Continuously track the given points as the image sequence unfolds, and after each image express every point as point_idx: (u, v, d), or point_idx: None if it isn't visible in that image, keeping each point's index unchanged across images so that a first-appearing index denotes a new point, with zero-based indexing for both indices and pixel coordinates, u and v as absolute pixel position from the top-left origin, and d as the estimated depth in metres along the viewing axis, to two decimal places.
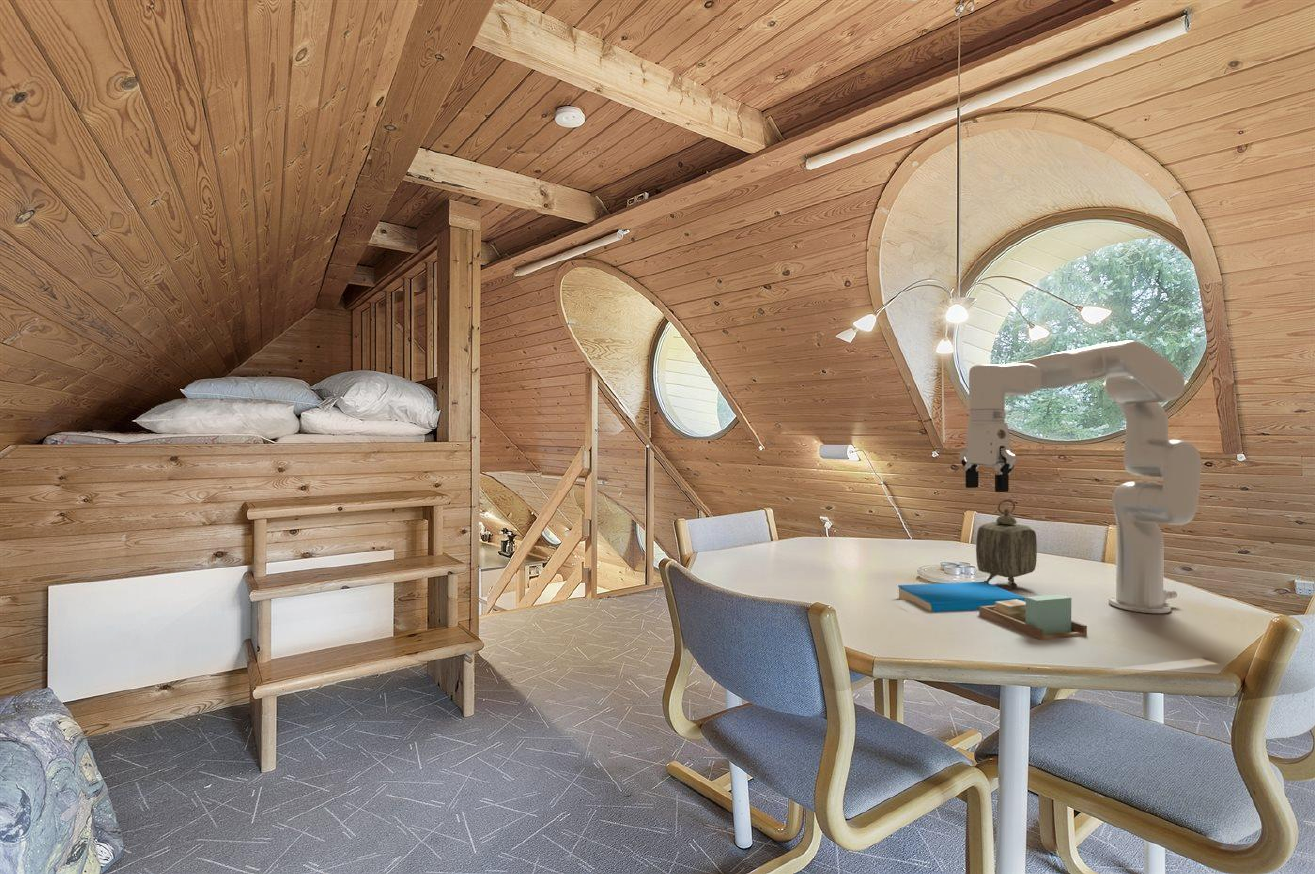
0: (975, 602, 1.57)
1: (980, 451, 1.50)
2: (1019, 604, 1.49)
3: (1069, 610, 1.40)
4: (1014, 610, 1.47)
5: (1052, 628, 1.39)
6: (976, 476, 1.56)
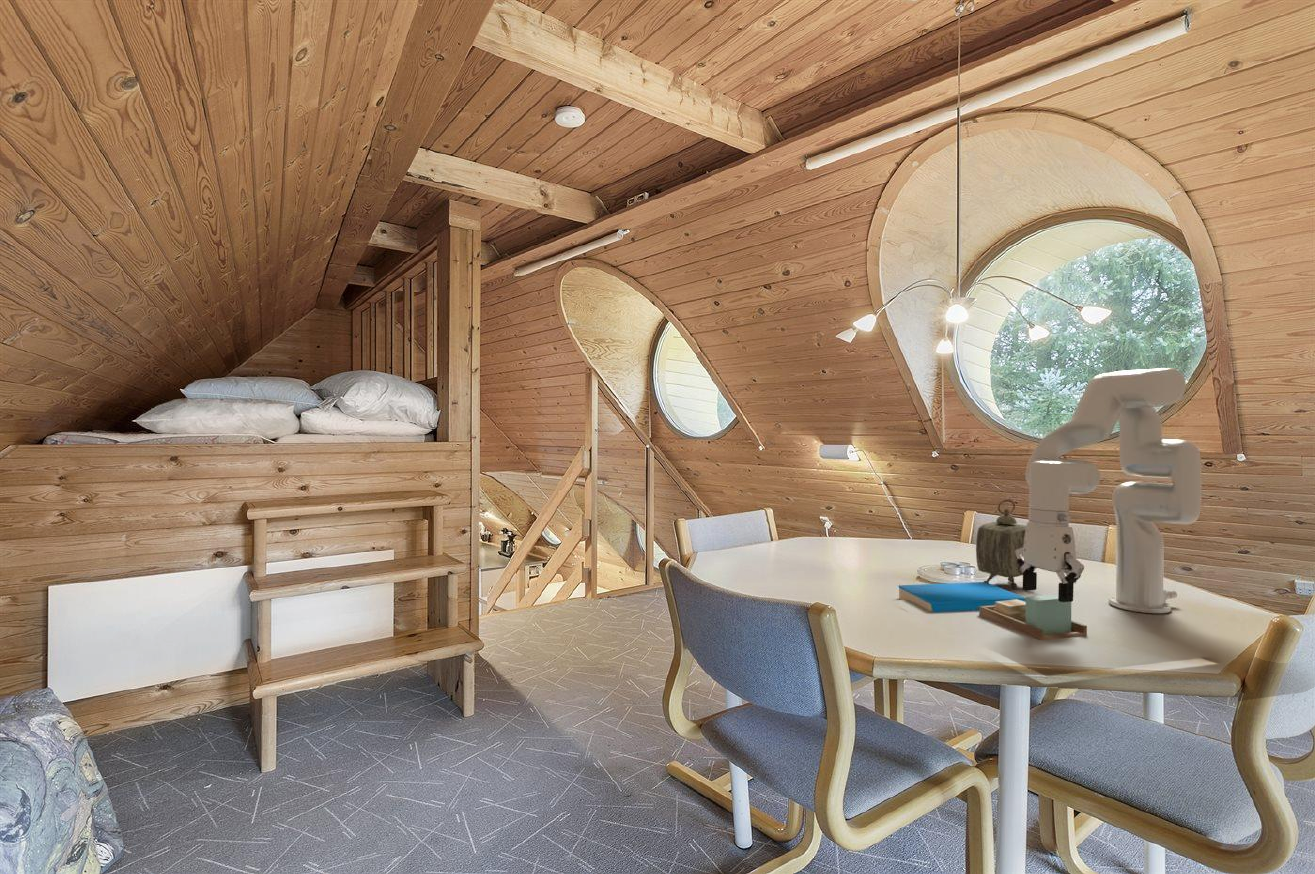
0: (976, 602, 1.57)
1: (1041, 555, 1.38)
2: (1019, 604, 1.49)
3: (1069, 610, 1.40)
4: (1014, 610, 1.47)
5: (1052, 628, 1.39)
6: (1034, 578, 1.44)
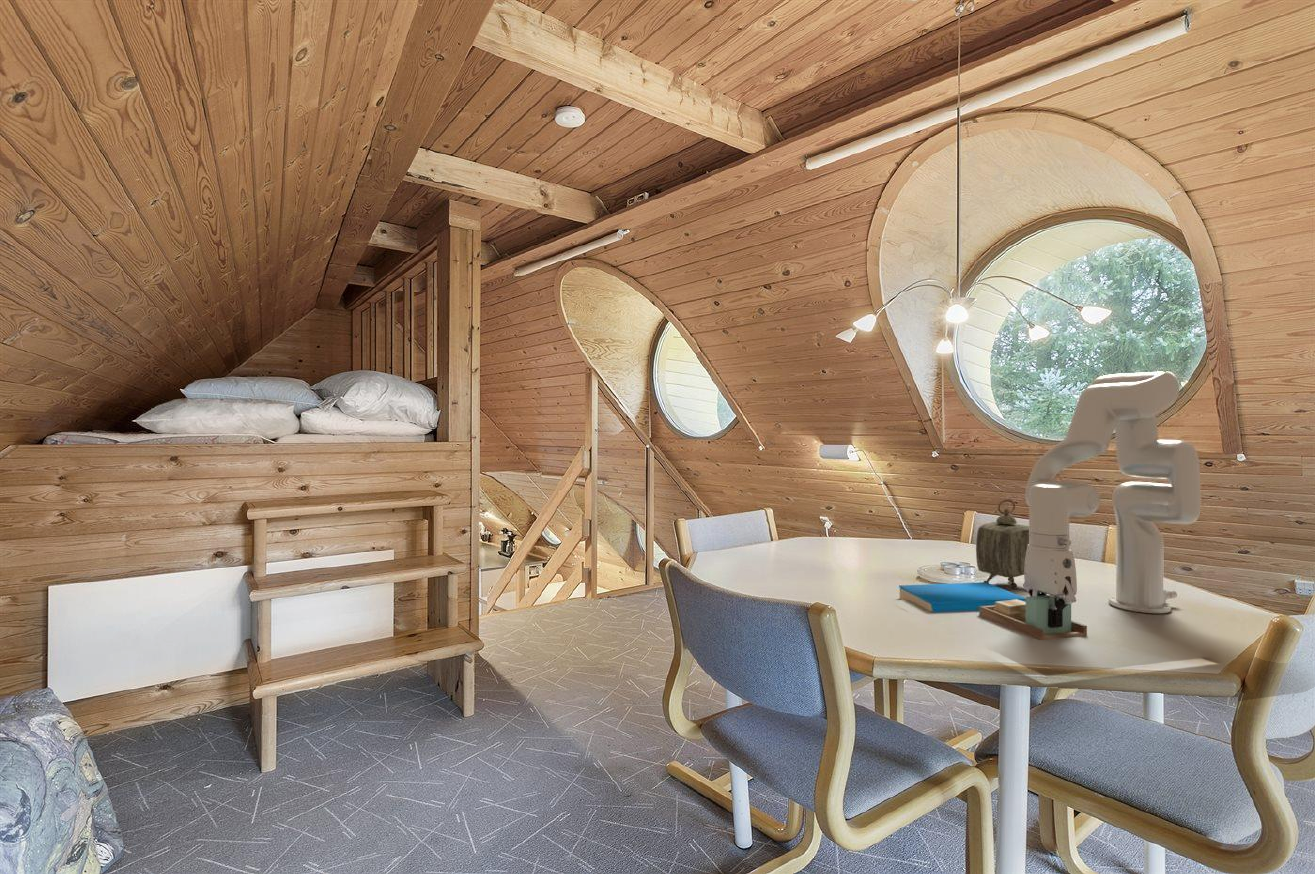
0: (976, 603, 1.57)
1: (1042, 578, 1.39)
2: (1019, 604, 1.49)
3: (1069, 610, 1.40)
4: (1014, 610, 1.47)
5: (1052, 628, 1.39)
6: None
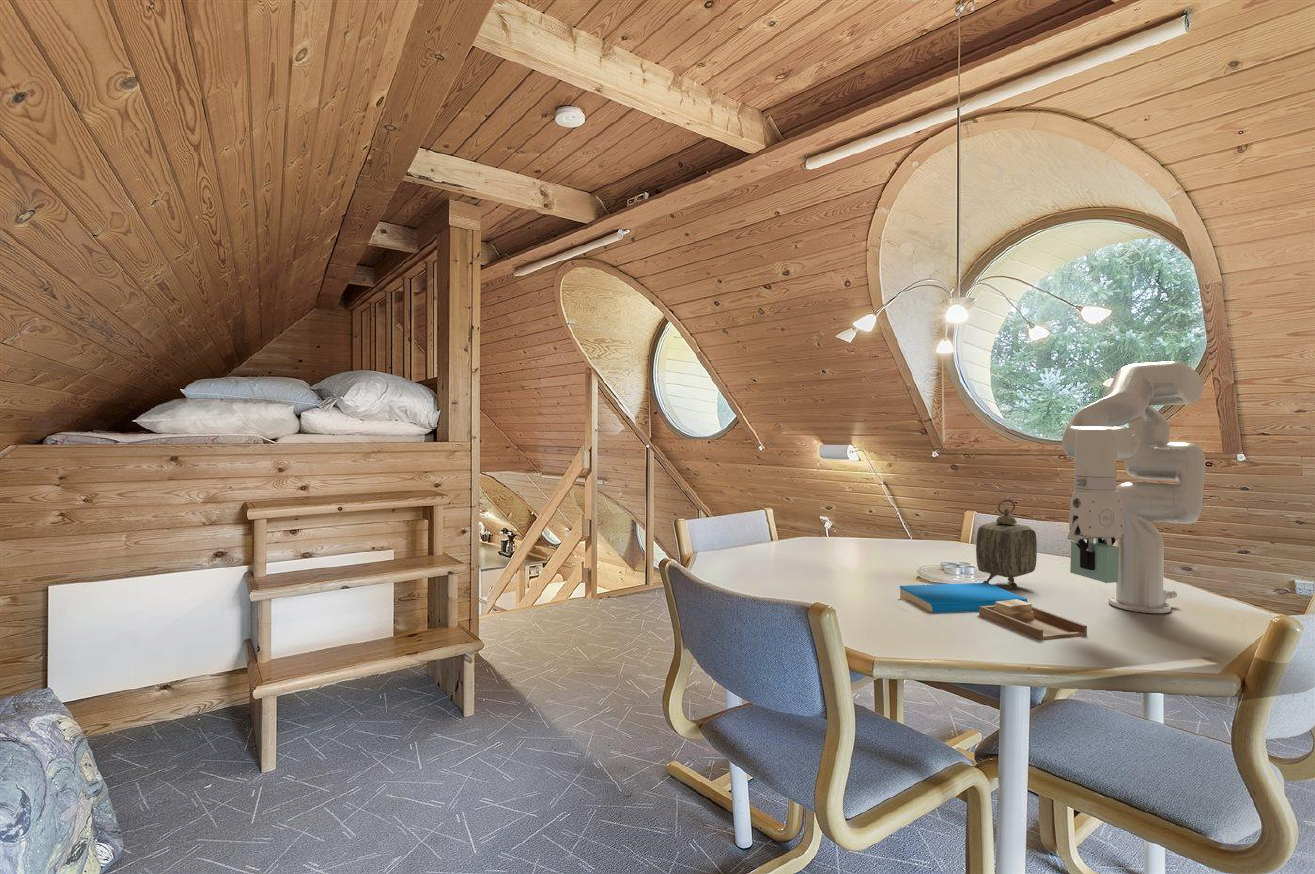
0: (977, 603, 1.56)
1: None
2: (1019, 604, 1.49)
3: (1105, 560, 1.35)
4: (1014, 610, 1.47)
5: (1086, 572, 1.40)
6: None
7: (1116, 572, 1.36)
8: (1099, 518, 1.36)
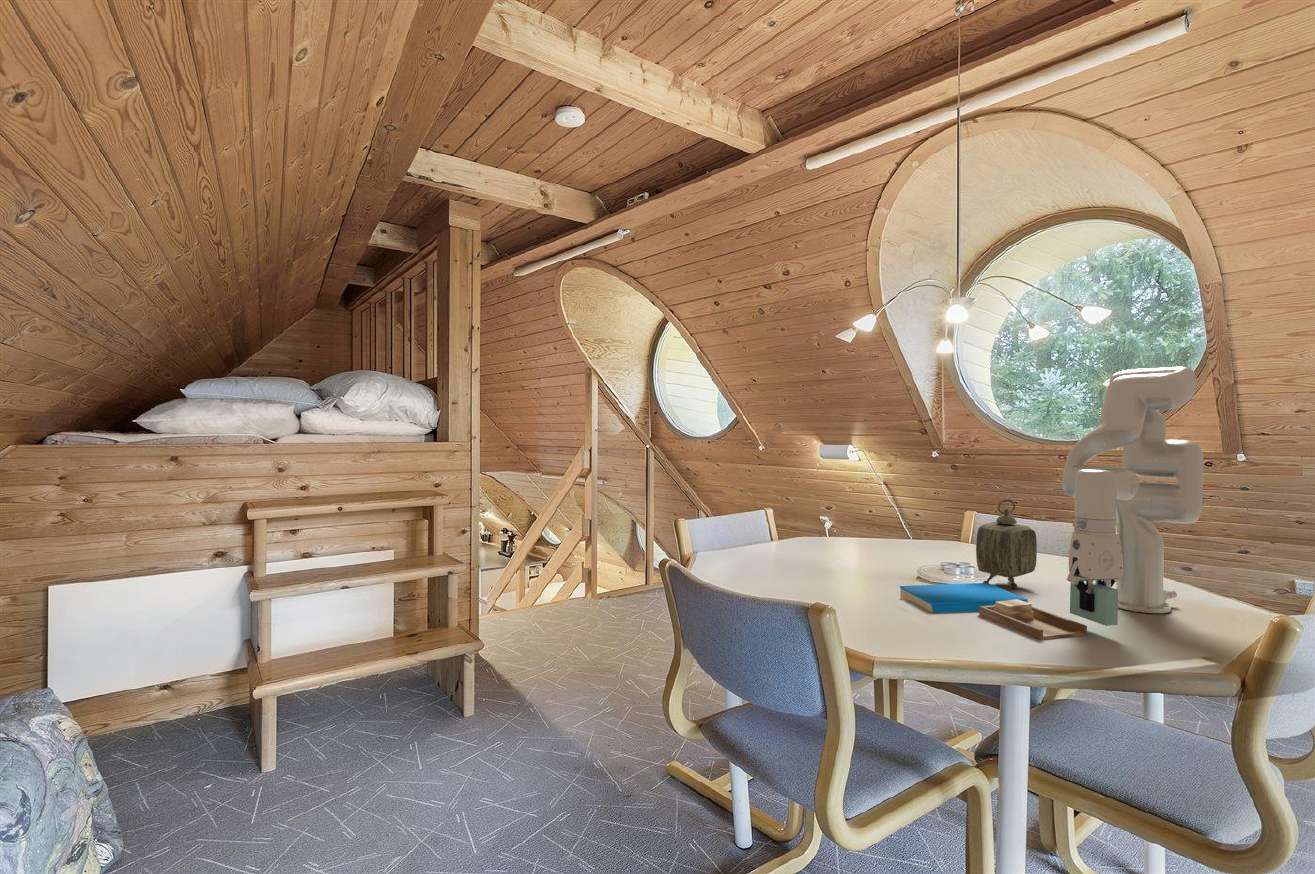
0: (977, 603, 1.56)
1: None
2: (1019, 604, 1.49)
3: (1104, 602, 1.36)
4: (1014, 610, 1.47)
5: (1085, 613, 1.40)
6: None
7: (1115, 615, 1.36)
8: (1098, 561, 1.37)
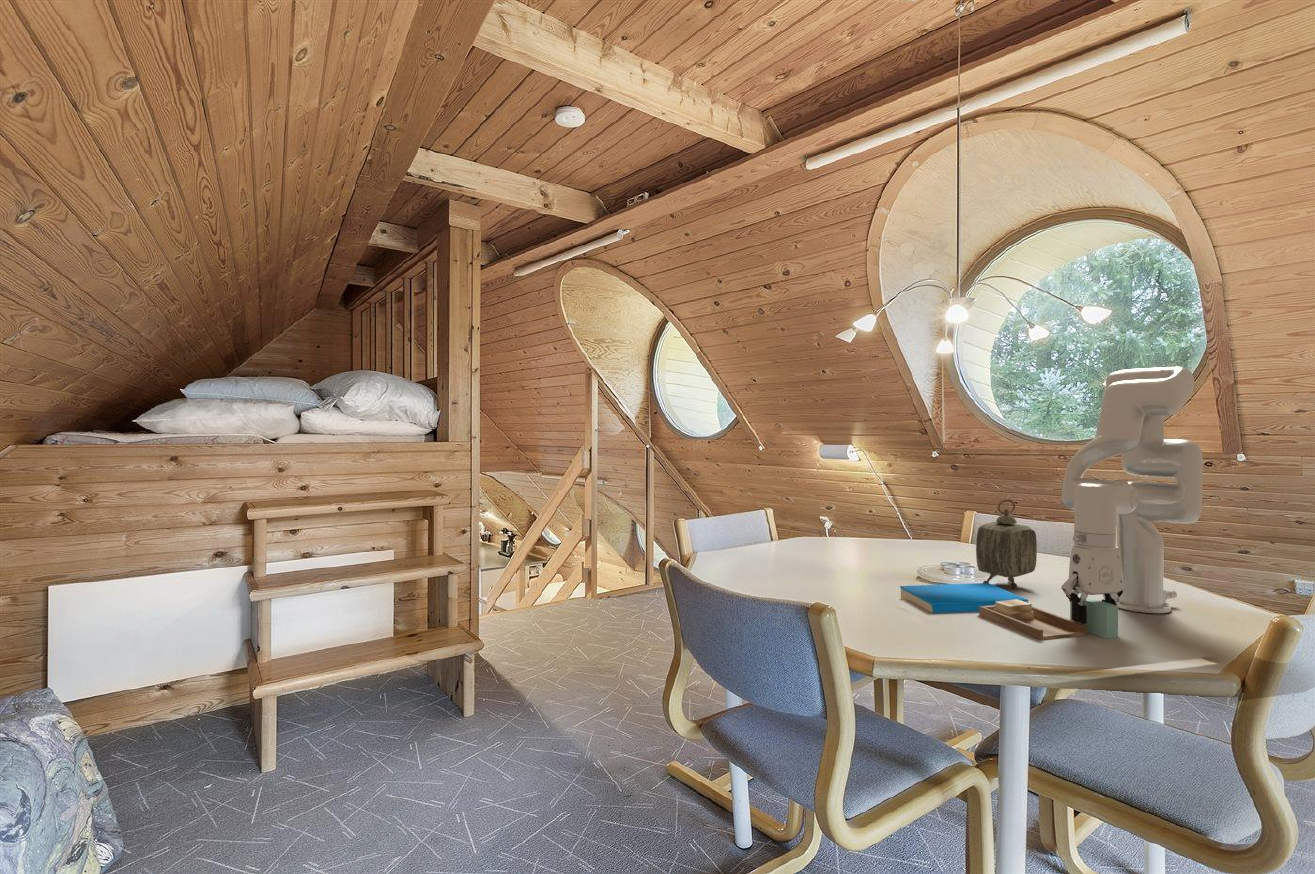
0: (977, 604, 1.56)
1: None
2: (1019, 604, 1.49)
3: (1104, 619, 1.36)
4: (1014, 610, 1.47)
5: None
6: None
7: (1116, 631, 1.36)
8: (1098, 575, 1.37)
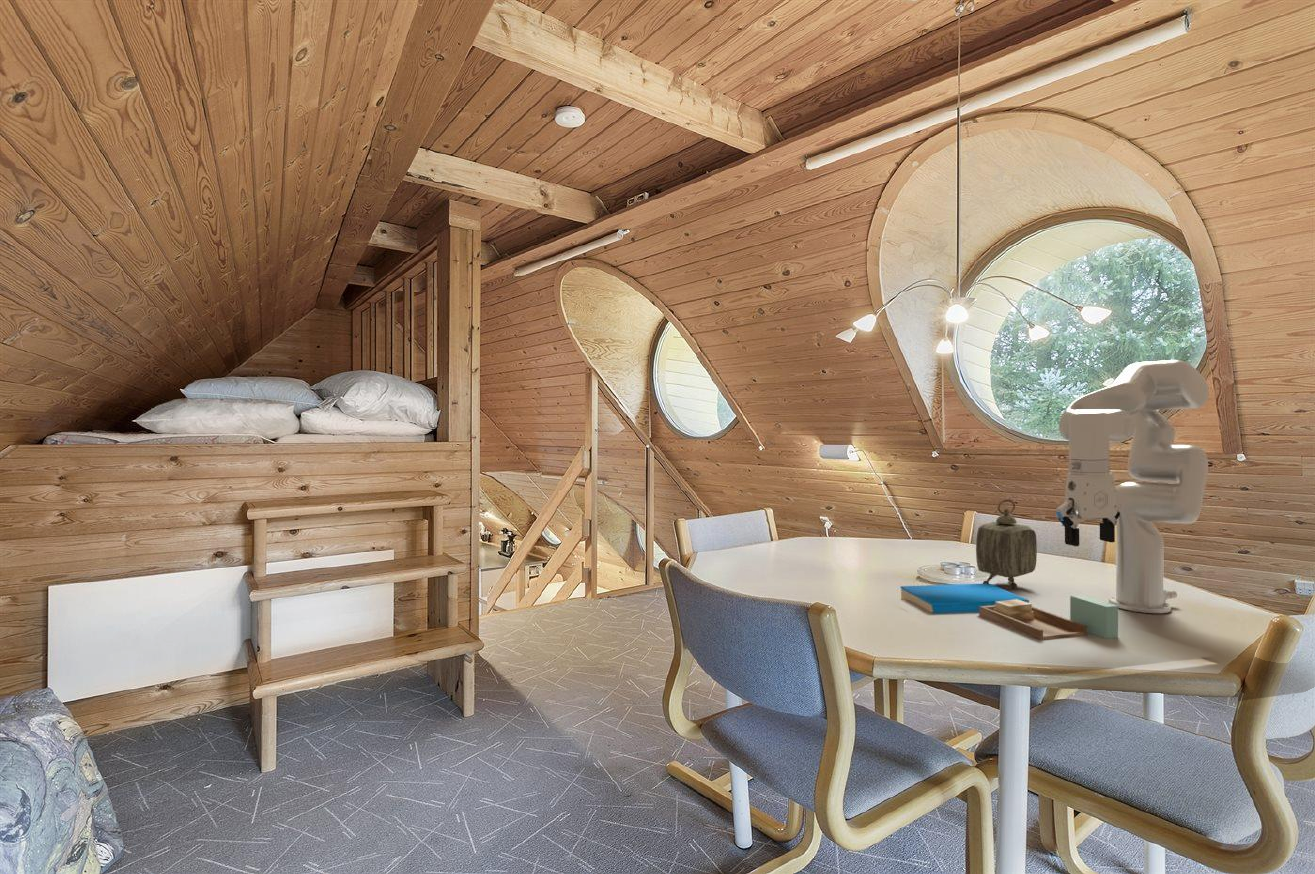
0: (978, 604, 1.56)
1: None
2: (1019, 604, 1.49)
3: (1104, 619, 1.36)
4: (1014, 610, 1.47)
5: None
6: (1109, 530, 1.43)
7: (1116, 631, 1.36)
8: (1093, 500, 1.40)
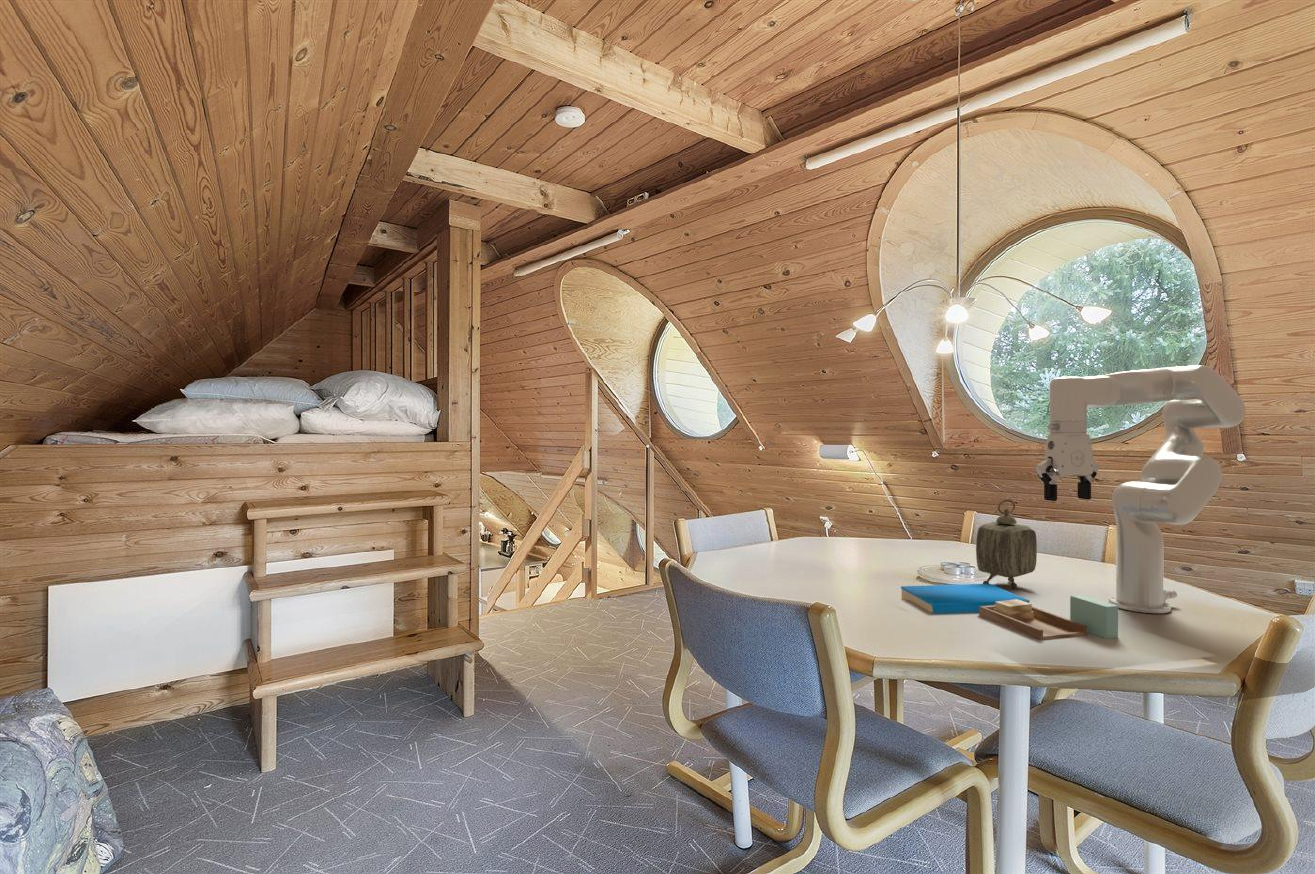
0: (978, 604, 1.55)
1: None
2: (1019, 604, 1.49)
3: (1104, 619, 1.36)
4: (1014, 610, 1.47)
5: None
6: (1086, 488, 1.54)
7: (1116, 631, 1.36)
8: (1070, 458, 1.51)
